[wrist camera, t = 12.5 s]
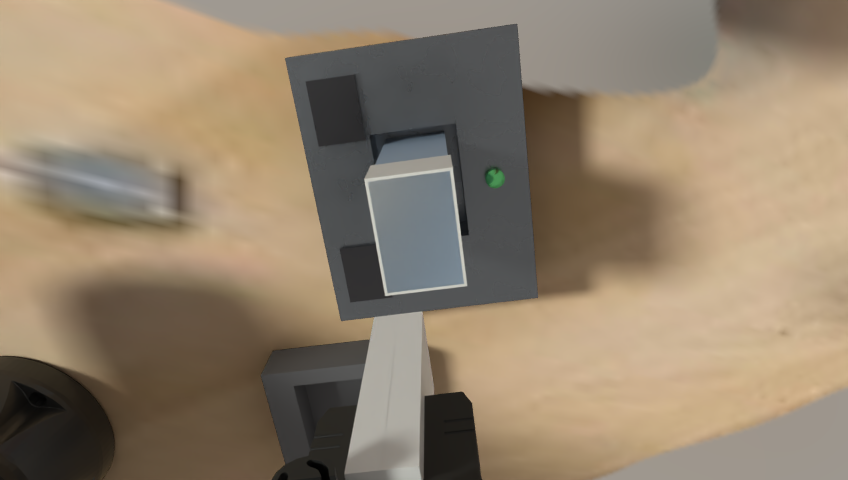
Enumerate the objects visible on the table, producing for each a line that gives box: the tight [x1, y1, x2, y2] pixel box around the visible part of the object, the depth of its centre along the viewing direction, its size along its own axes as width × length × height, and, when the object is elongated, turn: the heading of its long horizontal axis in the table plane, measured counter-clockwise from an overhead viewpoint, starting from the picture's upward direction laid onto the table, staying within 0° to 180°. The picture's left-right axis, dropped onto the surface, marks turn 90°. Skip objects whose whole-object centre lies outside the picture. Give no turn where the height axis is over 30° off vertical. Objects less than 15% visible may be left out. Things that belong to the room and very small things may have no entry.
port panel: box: [285, 24, 538, 321], centre depth 38 cm, size 14×18×5 cm
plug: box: [364, 131, 467, 296], centre depth 34 cm, size 4×6×12 cm
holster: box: [261, 340, 370, 464], centre depth 45 cm, size 10×10×4 cm
